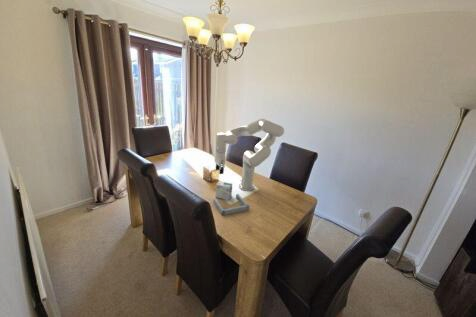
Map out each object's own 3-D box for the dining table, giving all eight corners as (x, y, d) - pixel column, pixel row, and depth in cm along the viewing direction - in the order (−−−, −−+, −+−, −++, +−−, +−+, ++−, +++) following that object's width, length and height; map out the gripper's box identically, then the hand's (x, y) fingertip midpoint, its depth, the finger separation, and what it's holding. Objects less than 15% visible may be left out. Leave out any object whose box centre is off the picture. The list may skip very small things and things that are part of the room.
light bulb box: (231, 196, 154) (232, 183, 151) (228, 200, 148) (229, 187, 145) (218, 193, 157) (219, 180, 153) (215, 197, 151) (215, 184, 147)
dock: (213, 201, 145) (213, 198, 144) (237, 197, 153) (238, 193, 152) (222, 215, 130) (222, 211, 129) (248, 209, 139) (249, 205, 138)
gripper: (212, 146, 156) (211, 168, 162) (220, 153, 142) (218, 176, 148) (221, 146, 160) (219, 167, 165) (230, 153, 145) (228, 175, 151)
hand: (219, 171), depth 157 cm, fingers open, 7 cm apart
